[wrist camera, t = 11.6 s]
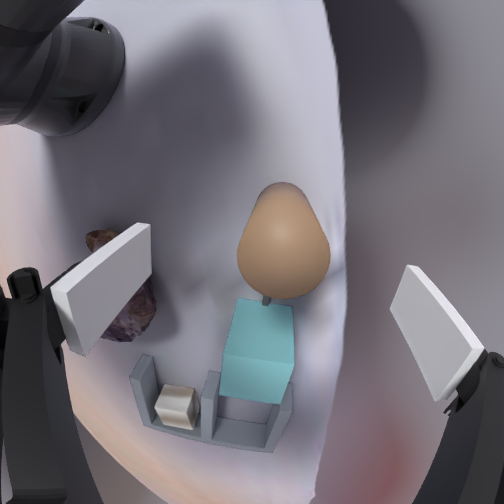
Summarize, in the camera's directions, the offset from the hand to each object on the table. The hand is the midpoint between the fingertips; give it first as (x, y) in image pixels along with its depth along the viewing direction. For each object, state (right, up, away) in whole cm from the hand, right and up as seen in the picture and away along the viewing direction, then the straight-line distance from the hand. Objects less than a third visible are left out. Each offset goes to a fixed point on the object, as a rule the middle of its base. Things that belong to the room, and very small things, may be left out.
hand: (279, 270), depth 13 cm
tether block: (+1, -1, +15) cm, 15 cm away
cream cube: (-12, -22, +25) cm, 36 cm away
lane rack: (-7, -21, +24) cm, 33 cm away
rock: (-15, -2, +17) cm, 23 cm away
